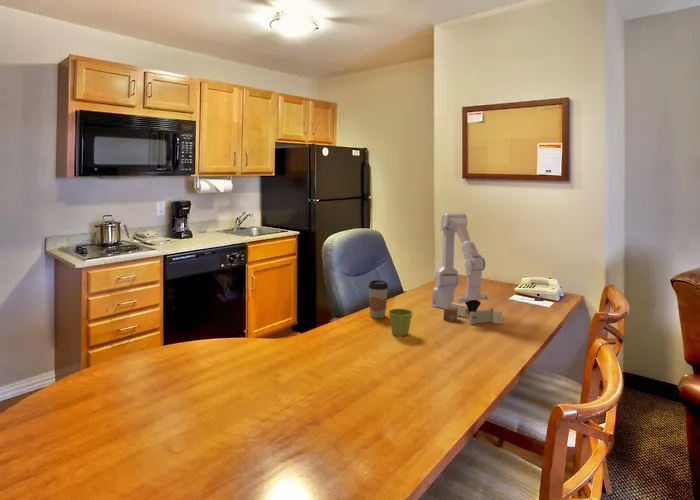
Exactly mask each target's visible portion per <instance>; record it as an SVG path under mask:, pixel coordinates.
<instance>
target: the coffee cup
mask: <svg viewBox="0 0 700 500" xmlns="http://www.w3.org/2000/svg"><path fill="white" fill-rule="evenodd" d="M388 289H389V285H388V282H387V281H385V280H379V279H377V280H375V279H374V280H370V281H369V283H368V295H369V296H368V299H369V300H368V301H369V304H368V305H369V315H370V317H371V318H372V319H383V318H384V317H385V316H386V309H387V301H388Z"/></svg>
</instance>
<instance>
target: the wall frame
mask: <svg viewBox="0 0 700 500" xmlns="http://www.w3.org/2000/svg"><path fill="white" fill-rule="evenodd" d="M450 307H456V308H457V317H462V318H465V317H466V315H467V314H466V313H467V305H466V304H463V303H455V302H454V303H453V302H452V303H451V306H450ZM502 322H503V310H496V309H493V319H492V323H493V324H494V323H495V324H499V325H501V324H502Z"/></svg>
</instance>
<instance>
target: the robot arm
mask: <svg viewBox="0 0 700 500" xmlns="http://www.w3.org/2000/svg"><path fill="white" fill-rule="evenodd" d="M440 219H441V220H440V230H441V231H442V260H441V261H442V263H441V264H442V265H441V266H440V268H438V269H437V270H436V271H435V272H436V273H435V277H434V284H435V286H434V288H433V289H432V297H431V298H432V299H431V307H434V308H440V309H445V308H446V307H448V306H451V303H452V302H453V303H455V290H456V288H457V287H458V286H459V285H460V284H459V283H460V278H459V272H458V270H457V269H456V268H455V267H454V265H455V264H454V263H455V259H454V258H455V257H454V256H455V234H456V233H457V236H458V238H459V240H460V242H461V244H462V245H461V247H460V248H461V252H462V254H463V257H464V259H465V262H464V267H465V274H466V286H465V287H466V289H465V290H466V291H465V295H462V296H458V297H457V299H456V302H457V304H463V303H465V305H466V309H467V310H468V316H469V315H470V312H474V311H478V309H479V307H480V305H481V300H484V301H488V300H489V295H488V294H486V293H482V294H481V291H482V290H481V289H482V278H483V277H482V273H483V271H484V270H485V269H486V260H485V257H483V256H482V255H481V254H479V251H478V248H477V247H476V244H475V243H474V242H473V241H471V239H470V235H469V232H468V227H467V225H468V218H467V215H466V213H464V212H461V213H456V212H455V213H454V212H453V213H452V212H451V213H446V212H445V213H443V215H442V216H441V218H440Z"/></svg>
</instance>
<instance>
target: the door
mask: <svg viewBox="0 0 700 500" xmlns="http://www.w3.org/2000/svg"><path fill="white" fill-rule="evenodd" d="M493 313H494V308H490V309H486V310H485V309H484V310H483V309H482V310H476V311H474V312H470V315H469V314H468V320H469V321H468V324H469V325H472V324H480V323H482V324H483V323H489V322H493Z"/></svg>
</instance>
